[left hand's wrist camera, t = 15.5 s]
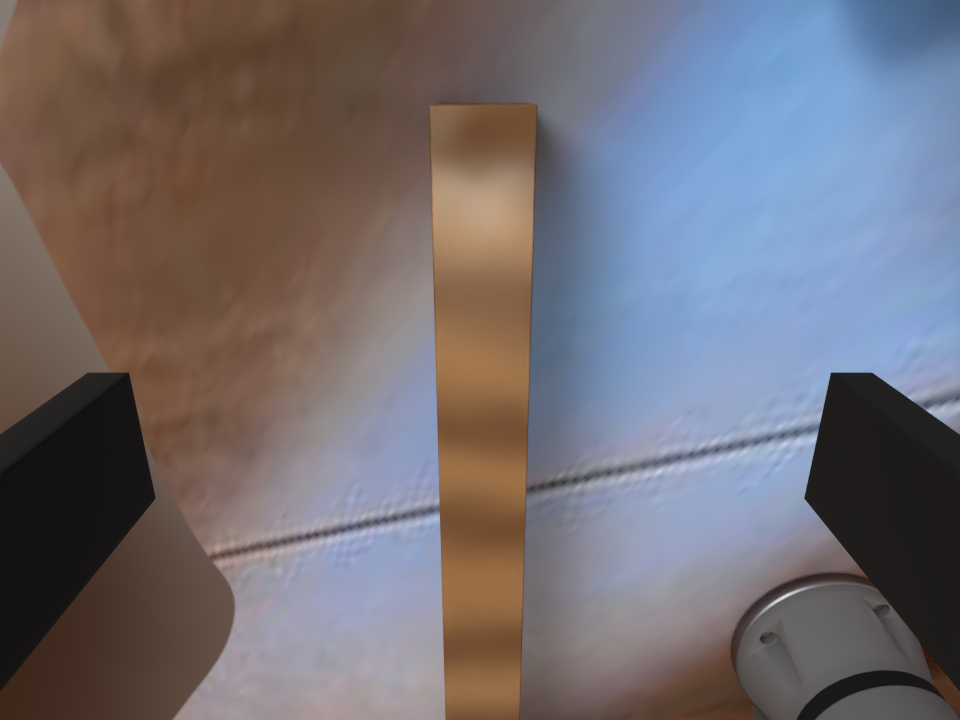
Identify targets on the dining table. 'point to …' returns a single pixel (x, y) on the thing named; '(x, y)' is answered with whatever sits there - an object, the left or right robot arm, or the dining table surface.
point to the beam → (482, 391)
